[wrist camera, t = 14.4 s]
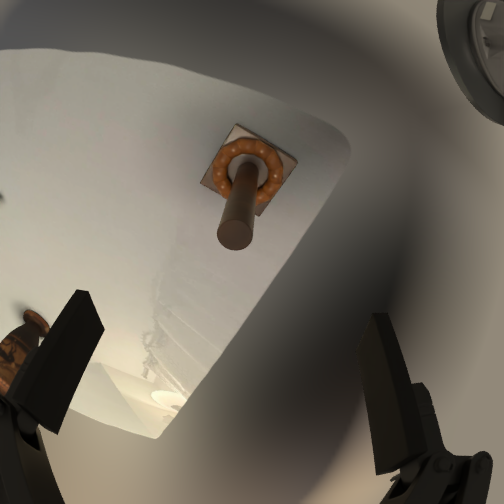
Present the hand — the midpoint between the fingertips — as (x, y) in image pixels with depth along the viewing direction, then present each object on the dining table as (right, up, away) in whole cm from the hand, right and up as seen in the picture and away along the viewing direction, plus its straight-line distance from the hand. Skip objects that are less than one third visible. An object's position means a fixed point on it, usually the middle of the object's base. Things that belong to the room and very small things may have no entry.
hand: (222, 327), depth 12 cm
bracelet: (+1, +12, +18) cm, 21 cm away
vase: (-50, -13, +40) cm, 65 cm away
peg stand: (+1, +13, +20) cm, 23 cm away
